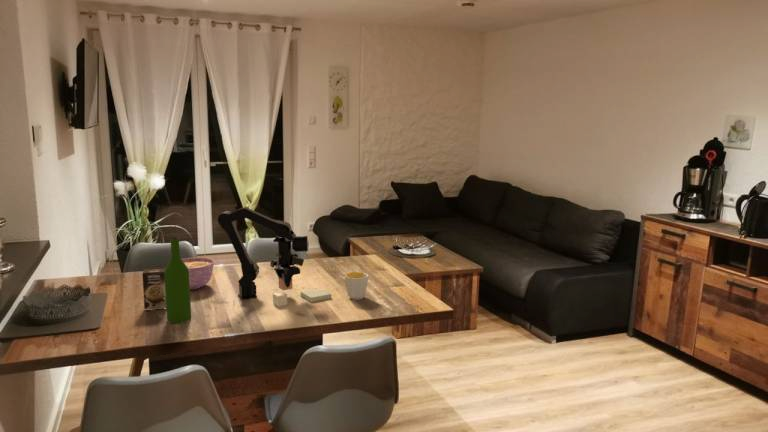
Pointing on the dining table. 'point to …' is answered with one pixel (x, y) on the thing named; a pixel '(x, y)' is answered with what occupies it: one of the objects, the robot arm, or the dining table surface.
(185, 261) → the bowl of food
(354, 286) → the mug
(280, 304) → the brick cream
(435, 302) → the dining table surface
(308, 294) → the base plate
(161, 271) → the coffee box
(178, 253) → the wine bottle
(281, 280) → the orange brown cube
